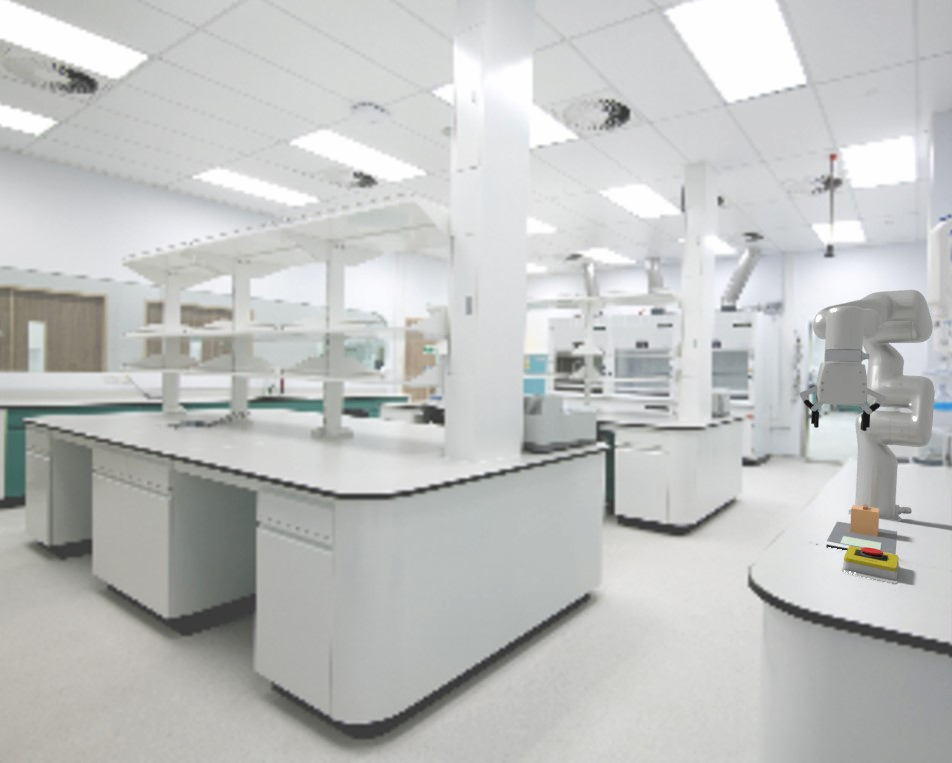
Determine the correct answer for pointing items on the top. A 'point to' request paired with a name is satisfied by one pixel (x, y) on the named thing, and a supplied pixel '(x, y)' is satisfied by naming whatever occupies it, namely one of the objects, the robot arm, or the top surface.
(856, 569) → the emergency button
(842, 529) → the base plate
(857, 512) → the tan wooden cube
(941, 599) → the top surface
